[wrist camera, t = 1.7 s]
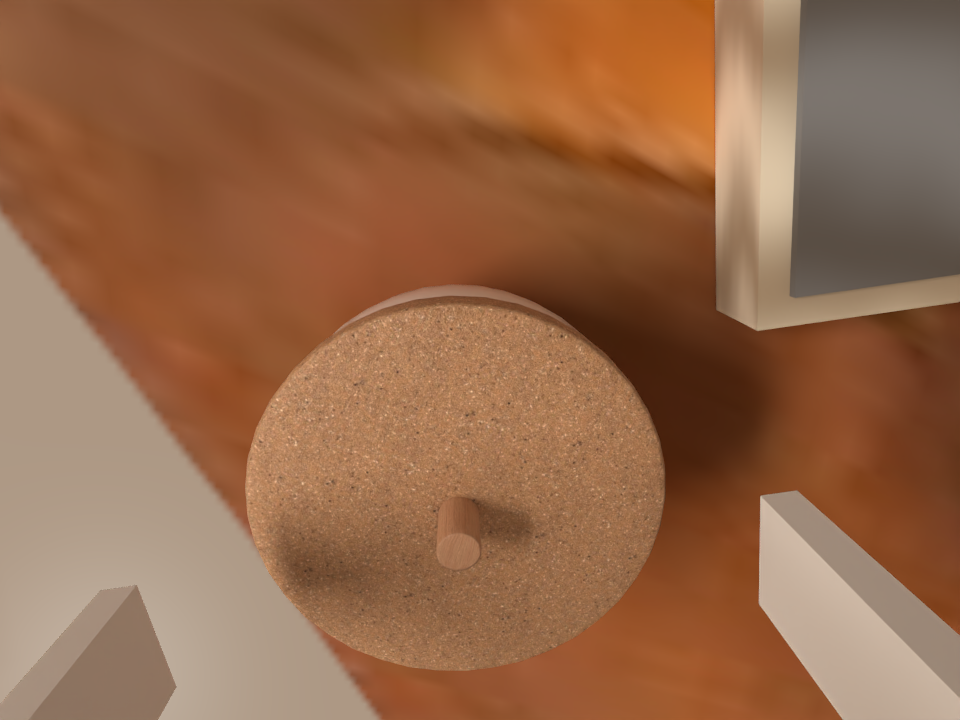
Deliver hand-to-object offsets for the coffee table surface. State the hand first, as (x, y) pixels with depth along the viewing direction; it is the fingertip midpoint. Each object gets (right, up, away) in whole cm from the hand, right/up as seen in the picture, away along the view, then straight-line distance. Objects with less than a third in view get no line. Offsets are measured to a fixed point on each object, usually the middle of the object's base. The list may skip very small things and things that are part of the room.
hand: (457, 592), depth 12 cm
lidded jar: (0, +4, +10) cm, 11 cm away
